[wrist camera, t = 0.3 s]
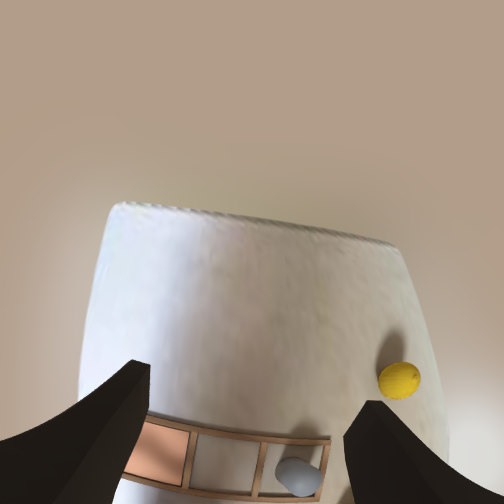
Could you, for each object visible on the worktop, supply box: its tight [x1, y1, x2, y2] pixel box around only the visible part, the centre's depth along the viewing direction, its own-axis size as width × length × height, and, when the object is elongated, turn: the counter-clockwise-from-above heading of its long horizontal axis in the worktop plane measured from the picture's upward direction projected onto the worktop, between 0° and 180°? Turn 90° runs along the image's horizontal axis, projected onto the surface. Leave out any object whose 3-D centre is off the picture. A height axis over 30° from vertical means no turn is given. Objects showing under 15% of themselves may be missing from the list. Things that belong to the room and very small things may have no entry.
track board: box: [121, 415, 331, 503], centre depth 30 cm, size 10×28×1 cm, turn 81°
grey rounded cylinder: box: [275, 457, 323, 497], centre depth 29 cm, size 4×4×6 cm
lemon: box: [378, 362, 420, 400], centre depth 36 cm, size 6×6×8 cm
